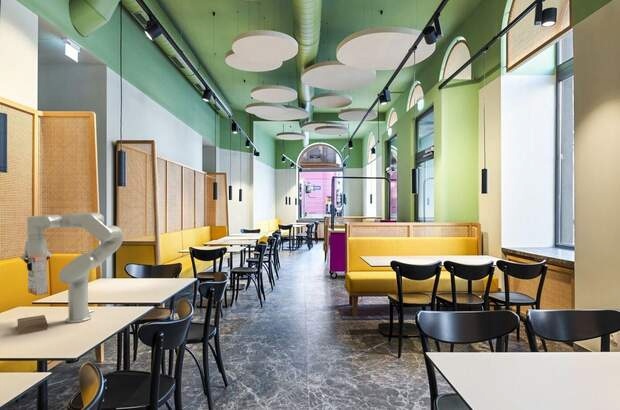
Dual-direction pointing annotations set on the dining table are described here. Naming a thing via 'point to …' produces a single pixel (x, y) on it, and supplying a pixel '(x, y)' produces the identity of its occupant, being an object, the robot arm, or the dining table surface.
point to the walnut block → (32, 324)
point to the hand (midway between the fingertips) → (36, 269)
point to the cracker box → (38, 276)
